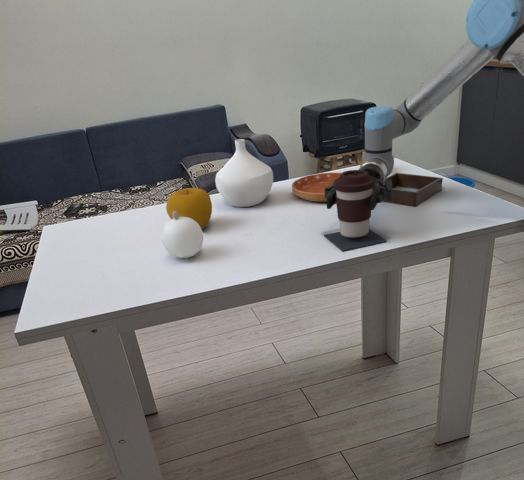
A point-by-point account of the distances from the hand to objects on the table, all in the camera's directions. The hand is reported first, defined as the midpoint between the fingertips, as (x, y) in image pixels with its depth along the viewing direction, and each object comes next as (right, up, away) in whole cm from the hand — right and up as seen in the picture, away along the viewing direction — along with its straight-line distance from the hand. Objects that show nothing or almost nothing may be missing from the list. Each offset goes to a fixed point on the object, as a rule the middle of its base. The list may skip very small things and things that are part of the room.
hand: (349, 204), depth 129 cm
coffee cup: (+3, -5, +8) cm, 10 cm away
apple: (-41, 0, +28) cm, 50 cm away
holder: (+22, +12, +34) cm, 42 cm away
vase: (-26, +12, +44) cm, 53 cm away
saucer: (0, +15, +43) cm, 45 cm away
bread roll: (+18, +27, +58) cm, 66 cm away
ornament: (-41, -11, +11) cm, 44 cm away
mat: (+3, -7, +9) cm, 11 cm away
